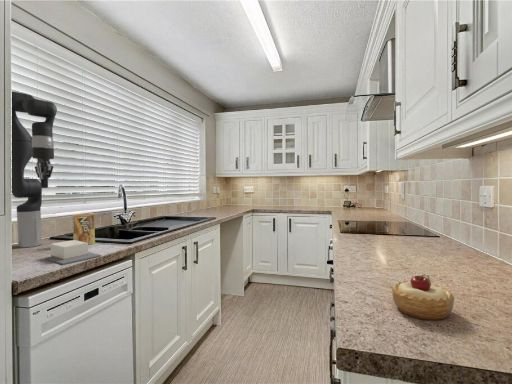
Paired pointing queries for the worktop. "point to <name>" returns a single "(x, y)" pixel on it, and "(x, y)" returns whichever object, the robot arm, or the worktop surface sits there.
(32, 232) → the robot arm
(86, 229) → the candy box
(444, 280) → the worktop surface
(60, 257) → the tan block
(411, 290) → the pastry
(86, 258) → the mat
